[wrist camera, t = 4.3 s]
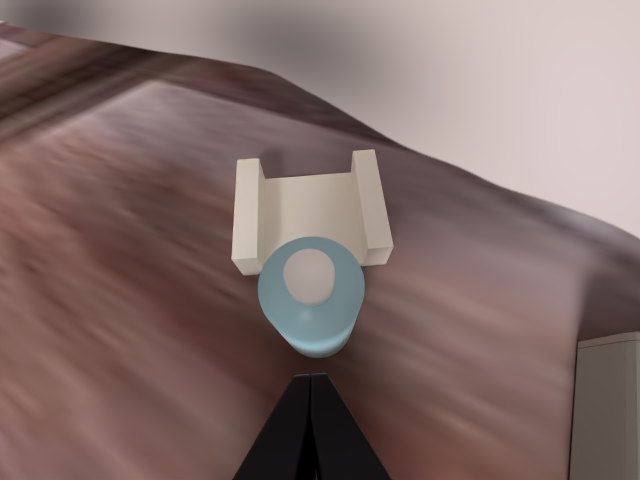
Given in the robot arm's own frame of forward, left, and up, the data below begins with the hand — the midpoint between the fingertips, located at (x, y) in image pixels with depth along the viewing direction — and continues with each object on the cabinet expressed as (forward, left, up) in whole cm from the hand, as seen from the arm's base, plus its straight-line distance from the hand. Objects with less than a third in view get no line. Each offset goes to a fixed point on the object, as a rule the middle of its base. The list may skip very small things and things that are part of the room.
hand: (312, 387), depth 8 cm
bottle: (+4, 0, -12) cm, 13 cm away
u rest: (+12, -1, -12) cm, 17 cm away
